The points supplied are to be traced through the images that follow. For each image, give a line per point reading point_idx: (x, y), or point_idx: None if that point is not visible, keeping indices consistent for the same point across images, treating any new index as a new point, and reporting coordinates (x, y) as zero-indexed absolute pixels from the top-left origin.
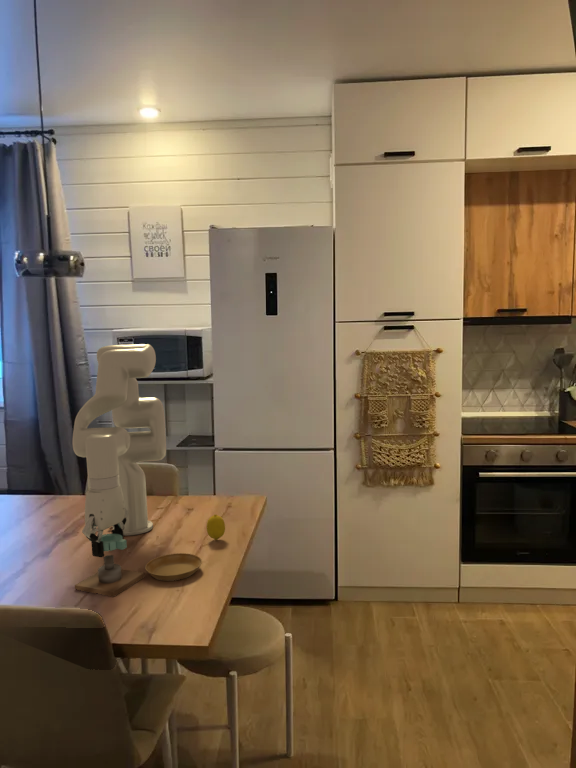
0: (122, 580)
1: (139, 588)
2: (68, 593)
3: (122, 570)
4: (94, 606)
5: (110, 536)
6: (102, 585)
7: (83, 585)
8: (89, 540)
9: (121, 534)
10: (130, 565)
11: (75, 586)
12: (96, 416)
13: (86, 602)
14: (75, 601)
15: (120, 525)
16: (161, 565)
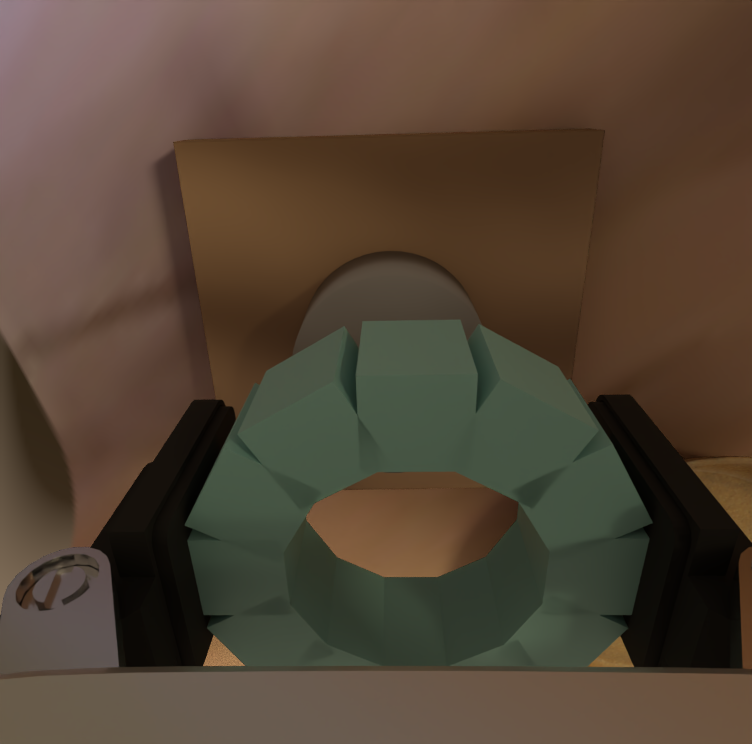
0: None
1: (395, 530)
2: (113, 138)
3: (560, 320)
4: (90, 453)
5: (538, 531)
6: (273, 364)
7: (203, 224)
8: (23, 576)
9: (630, 643)
10: (745, 237)
11: (177, 148)
12: None
13: (96, 375)
14: (61, 297)
15: None
16: (745, 474)
